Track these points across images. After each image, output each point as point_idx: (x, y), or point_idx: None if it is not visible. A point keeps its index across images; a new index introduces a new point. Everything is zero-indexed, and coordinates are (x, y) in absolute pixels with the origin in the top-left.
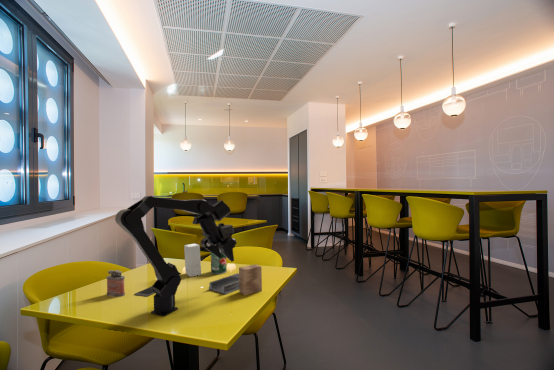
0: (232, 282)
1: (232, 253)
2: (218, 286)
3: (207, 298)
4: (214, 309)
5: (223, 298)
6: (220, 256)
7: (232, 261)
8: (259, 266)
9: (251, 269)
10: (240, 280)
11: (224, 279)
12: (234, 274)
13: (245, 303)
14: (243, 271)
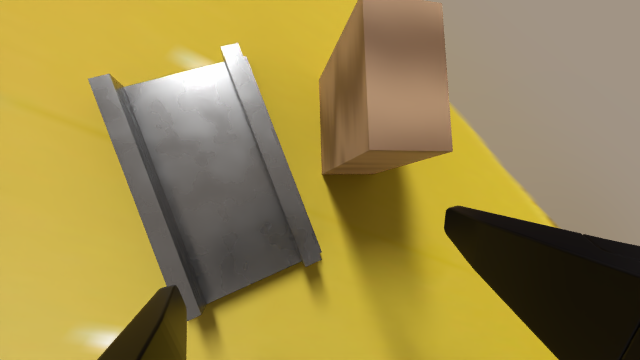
0: (188, 159)
1: (584, 246)
2: (209, 257)
3: (318, 343)
4: (450, 337)
5: (359, 270)
6: (177, 308)
7: (454, 226)
8: (431, 10)
9: (441, 87)
10: (358, 165)
11: (161, 205)
12: (106, 109)
13: (455, 205)
14: (443, 153)
